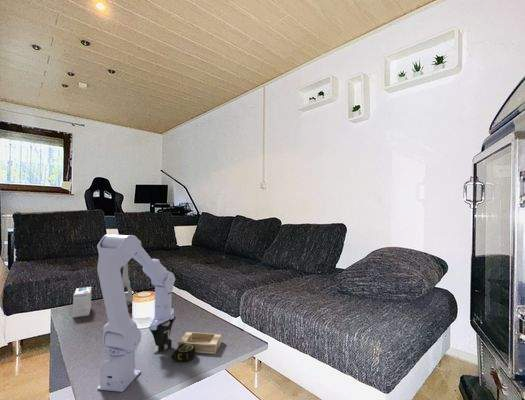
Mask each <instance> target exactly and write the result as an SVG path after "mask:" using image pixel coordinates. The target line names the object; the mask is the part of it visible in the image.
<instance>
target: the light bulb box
mask: <svg viewBox="0 0 525 400" xmlns="http://www.w3.org/2000/svg"><path fill="white" fill-rule="evenodd" d="M72 295H73V296H72V297H73V298H72V299H73V301H72V318H78V317H86V316H89V315H90V313H91V308H92V286H86V287H85V286H84V287H78V288H77V287H76V288H75V291H74V292H73V294H72Z"/></svg>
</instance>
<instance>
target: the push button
mask: <svg viewBox="0 0 525 400" xmlns="http://www.w3.org/2000/svg"><path fill="white" fill-rule="evenodd" d="M161 325H162V326H167V327H166V329H165V331H164V336H163V343H162V345H161V346H159V345H156V346H155V347H153V351H152V352H154V353H155V352H157V351H159V352H161V351H164V350H165V351H166V350H167V349H168V348H169V349H170V348H172V346H173V345H172V342H173V341H172V339H171V337H170V336H169V329H171V330H172V328H171V326H172V327H173V325H172V322H171V321H169V320H167V321H165V322H163V323H161Z"/></svg>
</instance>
